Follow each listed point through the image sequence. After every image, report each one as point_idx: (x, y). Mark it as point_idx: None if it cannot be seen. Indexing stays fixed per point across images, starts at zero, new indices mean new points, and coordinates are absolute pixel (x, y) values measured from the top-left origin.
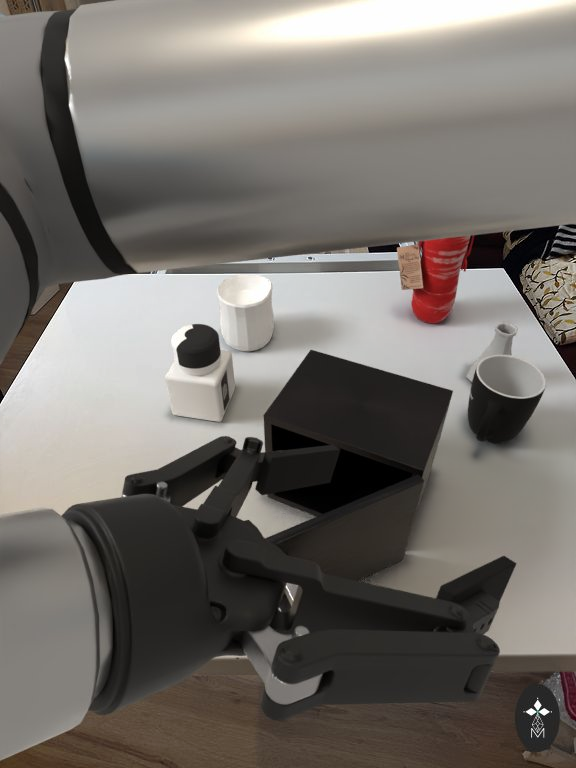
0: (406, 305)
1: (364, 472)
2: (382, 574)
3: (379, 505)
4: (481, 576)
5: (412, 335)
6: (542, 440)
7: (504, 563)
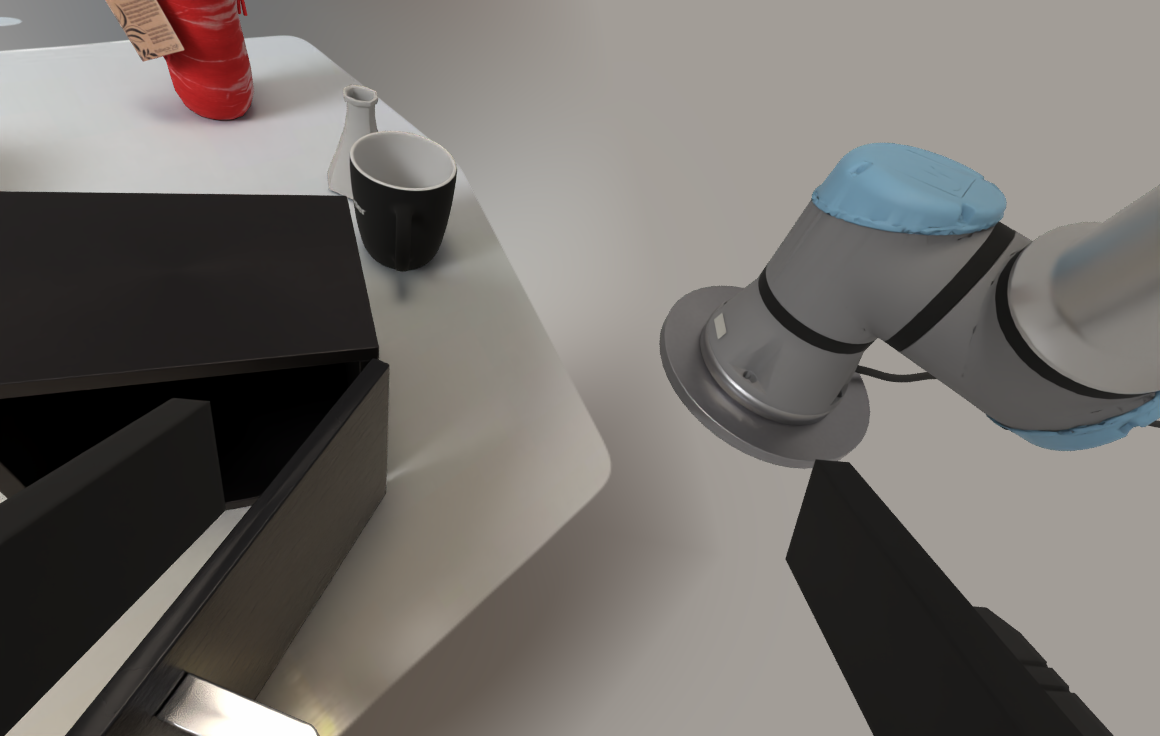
0: (166, 97)
1: (247, 395)
2: (368, 534)
3: (333, 449)
4: (929, 575)
5: (206, 145)
6: (467, 244)
7: (852, 482)
